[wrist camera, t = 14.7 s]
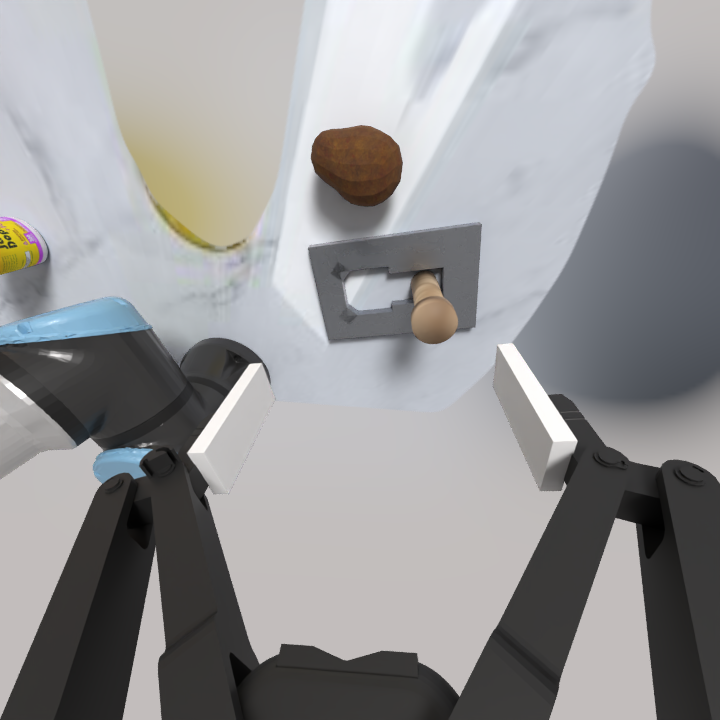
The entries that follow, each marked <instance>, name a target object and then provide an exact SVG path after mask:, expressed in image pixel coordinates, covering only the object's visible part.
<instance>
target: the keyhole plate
mask: <svg viewBox="0 0 720 720" xmlns="http://www.w3.org/2000/svg"><path fill="white" fill-rule="evenodd" d="M481 227H482V224H480V223H479V222H478V223H470V224H463V225H455V226H448V227H441V228H433V229H426V230H419V231H411V232H404V233H397V234H389V235H382V236H374V237H367V238H360V239H352V240H345V241H338V242H330V243H323V244H316V245H310V246H309V247H308V250H309V254H310V259H311V263H312V268H313V272H314V276H315V281H316V285H317V290H318V294H319V299H320V303H321V307H322V312H323V316H324V321H325V325H326V330H327V334H328V338H329V340H334V339H346V338H357V337H369V336H380V335H392V334H403V333H413V330H412V324H411V312H412V310H413V308H414V301H413V299H410V300H400V301H392V308H384V309H374V310H364V311H358V310H356V309H355V308H354V307H352V306H351V305H349V304H348V302H347V296H346V290H345V285H344V279H345V277H346V276H347V275H348V273H349V272H350V271H354V270H362V269H370V268H379V267H387V266H388V267H389V274H391V273H399V272H408V271H416V270H425V269H434V268H442V295H443V297H444V298H445V299H447V300H448V301H449V302H450V303H451V304H452V305H453V307H454V310H455V312H456V315H457V318H458V326H457V329H461V328H472V327H475V325H476V309H477V293H478V276H479V260H480V244H481Z"/></svg>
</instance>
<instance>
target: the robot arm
mask: <svg viewBox="0 0 720 720" xmlns="http://www.w3.org/2000/svg"><path fill="white" fill-rule="evenodd" d="M152 328H153V327H152V326H151V325H150V324H148V323H147V322H146V321H145V320H144V319H143V317H142V316H141V315H140V314H139V313H138V311H137V310H136V309H135V307H134V306H133V305H132V304H131V303H130V302H129V301H127V300H125V299H123V298H120V297H105V298H100V299H96V300H92V301H88V302H84V303H80V304H76V305H73V306H69V307H65V308H62V309H58V310H54V311H50V312H47V313H43V314H40V315H36V316H33V317H29V318H26V319H22V320H19V321H16V322H13V323H10V324H6V325H3V326H0V479H2V478H3V477H5V476H6V475H7V474H9V473H10V472H12V471H13V470H15V469H16V468H18V467H19V466H21V465H22V464H24V463H25V462H27V461H28V460H30V459H31V458H33V457H34V456H36V455H37V454H39V453H40V452H44V451H47V450H66V449H74V448H75V447H77V446H79V445H80V444H81V443H83V442H84V441H85V440H87V439H88V438H92V439H93V440H94V441H95V442H96V443H97V444H98V445H99V446H100V447H101V448H102V449H103V452H102V453H100V454H99V455H98V456H97V458H96V461H95V462H94V464H93V470H94V475H95V477H96V478H97V479H98V480H99V481H100V482H101V483H102V485H101V486H100V487H99V489H98V490H97V492H96V494H95V496H94V498H93V501H92V503H91V506H90V508H89V510H88V513H87V515H86V518H85V520H84V522H83V524H82V527H81V529H80V531H79V534H78V536H77V539H76V541H75V543H74V546H73V548H72V550H71V553H70V555H69V558H68V560H67V562H66V565H65V567H64V570H63V572H62V574H61V577H60V579H59V581H58V584H57V586H56V588H55V591H54V593H53V595H52V598H51V600H50V602H49V605H48V607H47V610H46V612H45V614H44V617H43V619H42V622H41V624H40V626H39V629H38V631H37V633H36V636H35V638H34V641H33V643H32V645H31V647H30V650H29V652H28V654H27V657H26V659H25V662H24V664H23V666H22V669H21V671H20V674H19V676H18V678H17V681H16V683H15V685H14V688H13V690H12V692H11V695H10V697H9V700H8V702H7V704H6V707H5V709H4V712H3V714H2V716H1V719H0V720H122V718H123V713H124V708H125V702H126V697H127V692H128V687H129V682H130V677H131V671H132V666H133V661H134V656H135V651H136V645H137V640H138V635H139V630H140V625H141V619H142V613H143V609H144V603H145V598H146V593H147V588H148V582H149V577H150V572H151V566H152V562H153V557H154V551H155V546H156V552H157V562H158V570H159V571H158V572H159V581H160V592H161V602H162V611H163V621H164V631H165V641H166V650H165V652H164V653H163V654H162V655H161V656H160V658H159V662H158V678H159V690H160V703H161V716H162V720H549V718H550V715H551V712H552V709H553V706H554V703H555V700H556V697H557V693H558V689H559V682H560V678H561V675H562V672H563V669H564V666H565V663H566V660H567V657H568V654H569V651H570V648H571V645H572V642H573V640H574V637H575V633H576V631H577V628H578V625H579V622H580V619H581V616H582V613H583V610H584V607H585V605H586V601H587V599H588V596H589V593H590V590H591V587H592V584H593V581H594V578H595V575H596V572H597V570H598V567H599V564H600V561H601V558H602V555H603V552H604V549H605V546H606V543H607V540H608V537H609V535H610V531H611V528H612V525H613V523H614V520H615V518H619V519H622V520H626V521H630V522H633V523H636V529H637V538H638V548H639V557H640V566H641V576H642V584H643V594H644V603H645V612H646V621H647V631H648V640H649V649H650V659H651V668H652V677H653V687H654V696H655V705H656V714H657V720H720V483H719V482H718V481H717V479H716V477H714V476H713V475H712V474H711V473H710V472H708V471H707V470H705V469H703V468H701V467H700V466H698V465H696V464H693V463H690V462H687V461H682V460H668V461H666V462H665V463H663V464H662V466H661V468H658V467H653V466H648V465H643V464H638V463H634V462H631V461H629V460H628V458H627V457H625V456H624V455H623V454H622V453H621V452H619V451H617V450H615V449H613V448H610V447H606V446H605V444H604V443H603V442H602V440H601V439H600V438H599V436H598V435H597V434H596V432H595V431H594V430H593V428H592V427H591V426H590V424H589V423H588V422H587V420H585V418H584V416H583V415H582V414H581V413H580V412H579V410H578V409H577V407H576V406H575V404H574V403H573V402H572V401H571V400H569V399H568V398H566V397H565V396H563V395H562V394H555V395H547V394H546V393H545V391H544V390H543V388H542V387H541V385H540V383H539V382H538V380H537V379H536V377H535V376H534V375H533V373H532V371H531V370H530V368H529V367H528V366H527V364H526V362H525V361H524V359H523V358H522V356H521V355H520V353H519V352H518V351H517V349H516V347H515V346H514V344H513V343H512V344H499V345H497V353H496V362H495V372H494V381H493V388H494V390H495V392H496V394H497V397H498V399H499V401H500V403H501V406H502V408H503V410H504V412H505V415H506V417H507V419H508V421H509V423H510V426H511V428H512V430H513V432H514V434H515V437H516V439H517V441H518V443H519V446H520V448H521V450H522V452H523V455H524V457H525V459H526V461H527V463H528V465H529V468H530V470H531V472H532V475H533V477H534V479H535V481H536V484H537V485H538V488H539V490H540V491H561V490H562V487H563V484H564V481H565V483H566V485H567V487H566V489H565V491H564V493H563V495H562V497H561V499H560V501H559V503H558V505H557V507H556V509H555V511H554V513H553V515H552V517H551V519H550V521H549V523H548V525H547V527H546V529H545V531H544V533H543V535H542V538H541V539H540V541H539V543H538V546H537V548H536V550H535V551H534V554H533V556H532V558H531V560H530V562H529V564H528V566H527V568H526V570H525V572H524V574H523V576H522V578H521V580H520V582H519V584H518V586H517V588H516V590H515V592H514V594H513V596H512V598H511V600H510V602H509V604H508V606H507V608H506V610H505V612H504V614H503V616H502V618H501V620H500V622H499V624H498V626H497V627H496V629H495V630H494V631H493V633H492V634H491V636H490V638H489V640H488V642H487V644H486V646H485V647H484V649H483V652H482V654H481V655H480V658H479V659H478V661H477V663H476V665H475V667H474V670H473V671H472V673H471V675H470V677H469V679H468V682H467V683H466V685H465V688H464V690H463V691H462V693H461V696H460V697H459V696H458V694H457V693H456V692H455V690H454V689H453V688H452V687H451V686H450V685H449V683H448V682H447V681H445V679H444V678H442V677H441V676H440V675H439V674H438V673H436V672H435V671H433V670H432V669H430V668H429V667H427V666H425V665H423V664H421V663H419V662H418V658H417V653H405V652H392V651H380V652H376V653H373V654H370V655H366V656H362V657H359V658H355V659H352V660H348V661H345V660H342V659H340V658H338V657H335V656H333V655H331V654H329V653H327V652H325V651H322V650H320V649H318V648H316V647H314V646H304V645H289V644H281V648H280V653H279V654H278V655H276V656H274V657H272V658H269V659H268V660H266V661H265V662H263V663H262V664H260V665H259V662H258V660H257V658H256V655H255V653H254V652H253V650H252V648H251V645H250V642H249V639H248V636H247V632H246V630H245V626H244V622H243V619H242V616H241V612H240V609H239V605H238V602H237V598H236V595H235V592H234V588H233V585H232V581H231V578H230V574H229V571H228V568H227V564H226V561H225V558H224V554H223V551H222V547H221V544H220V541H219V537H218V534H217V530H216V527H215V524H214V520H213V517H212V513H211V510H210V506H209V503H208V499H207V497H206V496H205V494H204V493H205V491H206V489H207V487H208V486H209V488H210V489H211V491H212V492H213V494H229V493H230V491H231V489H232V487H233V485H234V483H235V481H236V479H237V477H238V475H239V472H240V470H241V469H242V466H243V464H244V462H245V460H246V458H247V456H248V454H249V452H250V450H251V448H252V446H253V444H254V442H255V439H256V438H257V436H258V434H259V432H260V430H261V427H262V426H263V424H264V421H265V419H266V417H267V415H268V413H269V411H270V409H271V407H272V405H273V403H274V401H275V396H274V394H273V391H272V388H271V386H270V376H269V372H268V370H267V368H266V366H265V364H264V363H263V361H262V360H261V359H260V358H259V357H258V356H257V355H256V354H255V353H254V352H253V351H252V350H250V349H249V348H247V347H246V346H244V345H242V344H240V343H238V342H235V341H232V340H229V339H223V338H209V339H205V340H202V341H200V342H198V343H197V344H195V345H194V346H193V347H192V348H191V349H190V350H189V351H188V352H187V353H186V354H185V355H184V357H183V359H182V361H181V364H180V368H179V366H178V365H177V364H176V362H175V361H174V360H173V358H172V357H171V355H170V354H169V353H168V351H167V350H166V348H165V347H164V346H163V344H162V343H161V341H160V340H159V338H158V337H157V335H156V334H155V333H154V331H153V330H152Z"/></svg>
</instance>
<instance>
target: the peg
mask: <svg viewBox="0 0 720 720" xmlns="http://www.w3.org/2000/svg"><path fill="white" fill-rule="evenodd" d="M411 288H412V295H413V301H414V308H413V310H412V312H411V324H412V330H413V333H414V335H415V336H416V337H417V338H418V339H419V340H420V341H422V342H424V343H428V344H438V343H442V342H444V341H446V340H448V339H449V338H450V337H451V336H452V335H453V334H454V333H455V331H456V329H457V326H458V318H457V315H456V312H455V310H454V307H453V305H452V304H451V303H450V302H449V301H448V300H447V299H445V298H444V297H443V295H442V292H441V289H440V287H439V284H438V281H437V279H436V276H435V275H434V274H433V273H432V272H430V271H420V272H418V273H416V274H415V275H414V276H413V278H412V281H411Z"/></svg>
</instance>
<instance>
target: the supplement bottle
mask: <svg viewBox="0 0 720 720" xmlns="http://www.w3.org/2000/svg"><path fill="white" fill-rule="evenodd" d="M47 254H48V250H47V246H46V243H45V241H44V239H43V238H42V236H41V235H40V234H39V233H38V232H37V230H36V229H34V228H33V227H32V226H31V225H29V224H28V223H26V222H25V221H23V220H21V219H18V218H14V217H0V275H2V274H5V273H9V272H12V271H16V270H20V269H23V268H27V267H30V266H34V265H37V264H40V263H42V262H44V261H45V260H46V258H47Z"/></svg>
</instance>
